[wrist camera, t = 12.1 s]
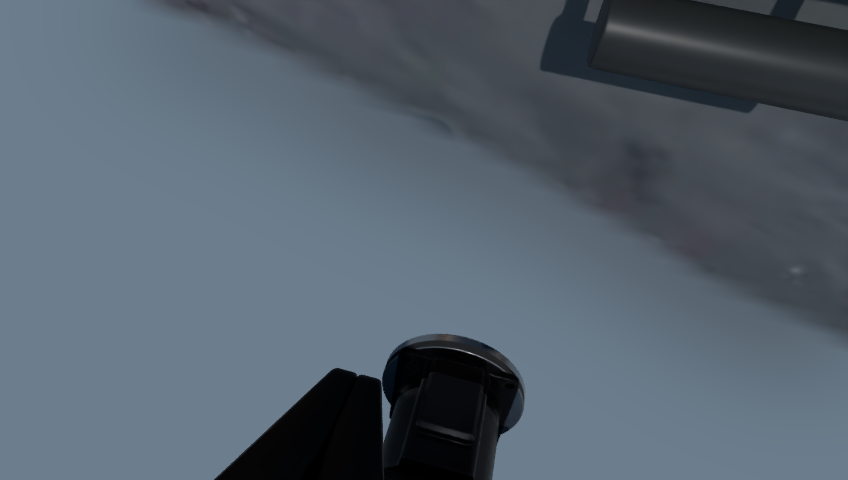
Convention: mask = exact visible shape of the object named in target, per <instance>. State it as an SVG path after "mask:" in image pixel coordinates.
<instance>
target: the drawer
mask: <svg viewBox="0 0 848 480" xmlns="http://www.w3.org/2000/svg"><path fill="white" fill-rule="evenodd" d="M588 67H589V68H592V69H597V70H601V71H606V72H611V73H616V74H621V75H626V76H631V77H635V78H640V79H645V80H650V81H655V82H660V83H664V84H669V85H674V86H679V87H684V88H689V89H694V90H698V91H703V92H708V93H713V94H718V95H723V96H727V97H732V98H737V99H742V100H747V101H752V102H757V103H761V104H766V105H771V106H776V107H781V108H786V109H790V110H795V111H800V112H805V113H810V114H815V115H820V116H824V117H829V118H834V119H839V120H844V121H848V30H843V29H838V28H833V27H827V26H822V25H817V24H812V23H807V22H801V21H796V20H791V19H786V18H780V17H775V16H770V15H765V14H760V13H754V12H749V11H744V10H739V9H733V8H728V7H723V6H718V5H713V4H707V3H702V2H697V1H692V0H604V1H603V4H602V6H601V9H600V12H599V15H598V18H597V22H596V25H595V28H594V32H593V36H592V40H591V44H590V48H589V53H588Z"/></svg>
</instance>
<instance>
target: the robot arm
mask: <svg viewBox="0 0 848 480" xmlns="http://www.w3.org/2000/svg"><path fill="white" fill-rule="evenodd" d="M518 389H519V378H518V377H517V376H516V375H513V374H510V373H506V372H502V371H499V370H495V369H491V368H487V367H483V366H479V365H476V364H472V363H468V362H464V361H460V360H457V359H453V358H449V357H445V356H441V355H437V354H434V353H430V352H426V351H422V350H418V349H415V348H411V347H403V348H402V349H401V350H400V353H399V356H398V361H397V367H396V374H395V381H394V387H393V394H392V400H391V407H390V414H389V418H390V419H391V421H390V424H389V428H388V430H387V434H386V437H385V440H384V443H383V423H382V387H381V381H380V380H379V379H377V378H373V377H369V376H366V375H359V376H358V377H357V374H356V373H354V372H350V371H347V370H343V369H340V368H335V369H333V370H331V371H330V372H329V373H328V374H327V375H326V376H325V377H324V378H323V379H321V380H320V381H319V382H318V383H317V384H316V385H315V386H314V387H313V388H312V389H311V390H310V391H309V392H308V393H306V395H304V396H303V397H302V398H301V399H300V400H299V401H298V402H297V403H296V404H295V405H294V406H292V407H291V409H289V410H288V411H287V412H286V413H285V414H284V415H283V416H282V417H281V418H280V419H279V420H277V421H276V422H275V423H274V424H273V425H272V426H271V427H270V428H269V429H268V430H267V431H266V432H265V433H264V434H262V435H261V436H260V437H259V438H258V439H257V440H256V441H255V442H254V443H253V444H252V445H251V446H250V447H249V448H247V449H246V450H245V451H244V452H243V453H242V454H241V455H240V456H239V457H238V458H237V459H236V460H235V461H234V462H232V463H231V465H229V466H228V467H227V468H226V469H225V470H224V471H223V472H222V473H221V474H220V475H218V476H217V477H216V478H215V479H214V480H492V475H493V468H494V460H495V453H496V446H497V443H498V440H499V438H500V435H501V433H502V430H503V428H504V425H505V422H506V420H507V417H508V415H509V412H510V410H511V407H512V404H513V402H514V399H515V397H516V394H517V392H518Z"/></svg>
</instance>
